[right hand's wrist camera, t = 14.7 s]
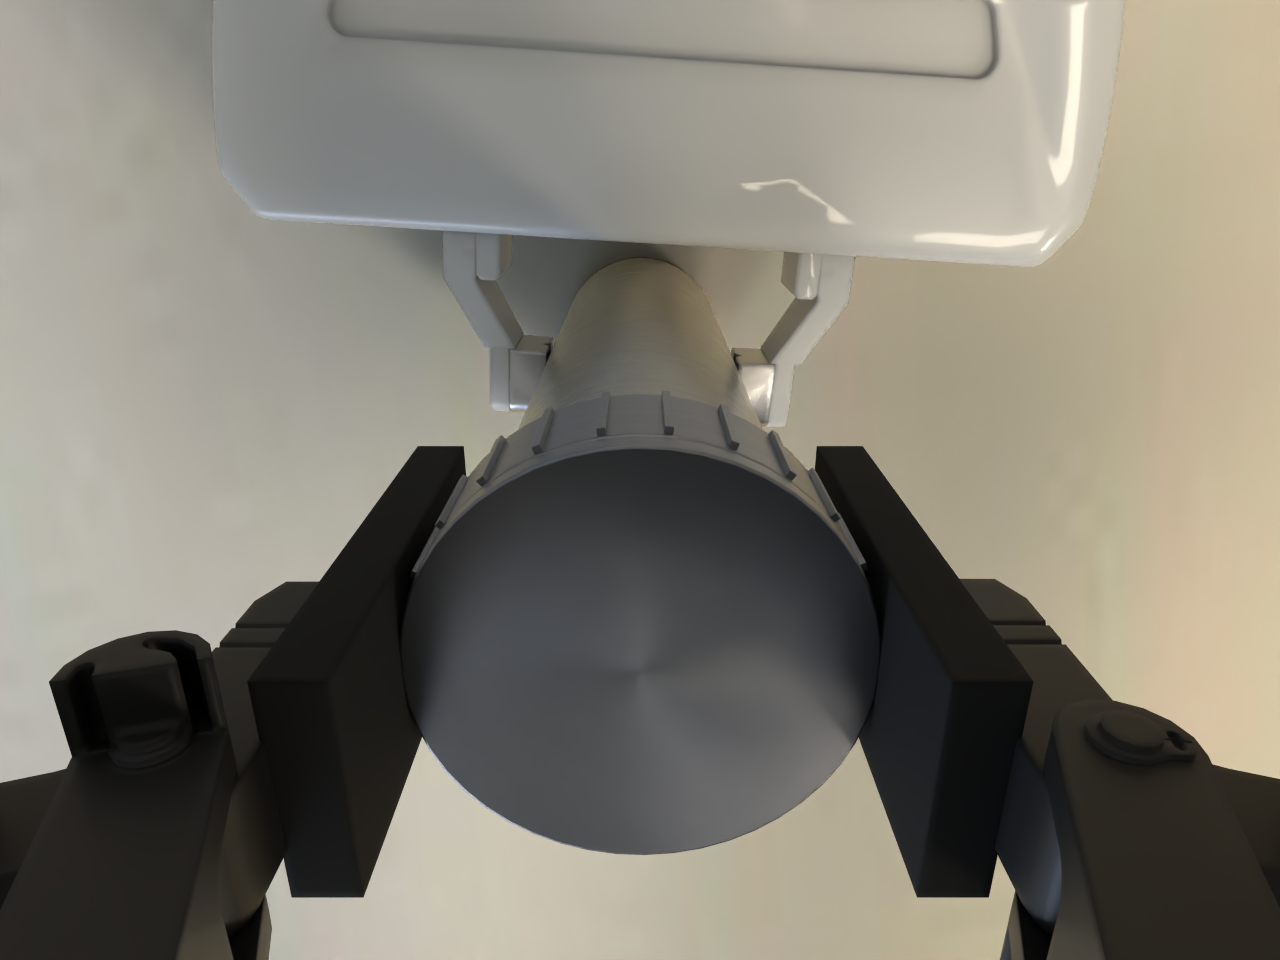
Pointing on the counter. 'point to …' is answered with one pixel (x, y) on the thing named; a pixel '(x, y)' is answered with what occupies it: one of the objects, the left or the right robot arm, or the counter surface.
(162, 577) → the counter surface
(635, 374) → the bottle
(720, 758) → the lid
